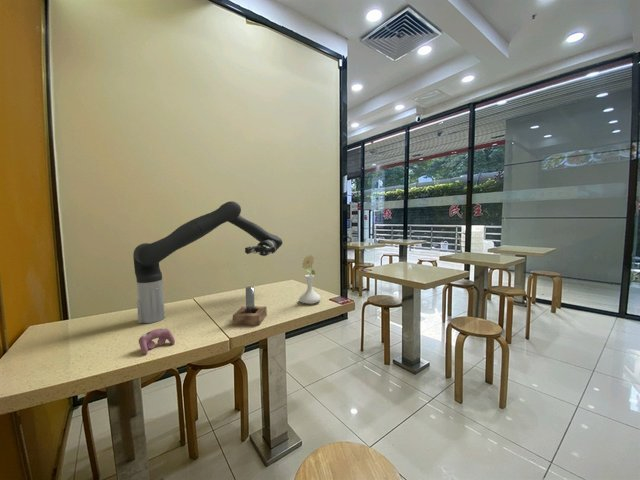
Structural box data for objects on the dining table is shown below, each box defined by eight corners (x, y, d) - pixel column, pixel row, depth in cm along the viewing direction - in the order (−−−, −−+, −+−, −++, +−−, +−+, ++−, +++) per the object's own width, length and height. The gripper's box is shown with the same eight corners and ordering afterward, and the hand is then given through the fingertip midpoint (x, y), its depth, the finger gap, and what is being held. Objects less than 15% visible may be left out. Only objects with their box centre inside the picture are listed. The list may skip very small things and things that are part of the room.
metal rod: (247, 321, 109) (246, 289, 108) (245, 319, 112) (244, 287, 111) (255, 320, 111) (254, 288, 110) (253, 317, 114) (253, 286, 113)
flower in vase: (296, 300, 138) (295, 253, 136) (317, 297, 141) (316, 252, 139) (302, 307, 125) (301, 256, 123) (325, 305, 129) (324, 255, 127)
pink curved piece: (172, 345, 93) (167, 326, 94) (176, 343, 90) (171, 323, 92) (139, 357, 85) (135, 336, 87) (144, 355, 82) (139, 333, 84)
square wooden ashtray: (232, 324, 106) (232, 315, 106) (242, 315, 117) (242, 306, 117) (259, 325, 105) (259, 315, 105) (266, 315, 116) (266, 306, 116)
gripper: (252, 240, 136) (240, 243, 120) (279, 240, 135) (271, 243, 119) (252, 254, 137) (241, 259, 121) (279, 254, 136) (271, 259, 120)
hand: (256, 251), depth 120 cm, fingers open, 8 cm apart
